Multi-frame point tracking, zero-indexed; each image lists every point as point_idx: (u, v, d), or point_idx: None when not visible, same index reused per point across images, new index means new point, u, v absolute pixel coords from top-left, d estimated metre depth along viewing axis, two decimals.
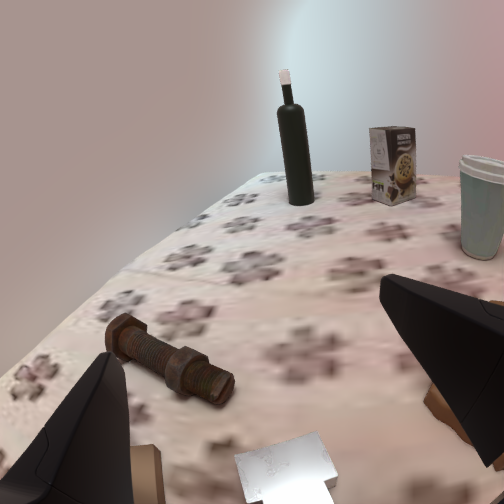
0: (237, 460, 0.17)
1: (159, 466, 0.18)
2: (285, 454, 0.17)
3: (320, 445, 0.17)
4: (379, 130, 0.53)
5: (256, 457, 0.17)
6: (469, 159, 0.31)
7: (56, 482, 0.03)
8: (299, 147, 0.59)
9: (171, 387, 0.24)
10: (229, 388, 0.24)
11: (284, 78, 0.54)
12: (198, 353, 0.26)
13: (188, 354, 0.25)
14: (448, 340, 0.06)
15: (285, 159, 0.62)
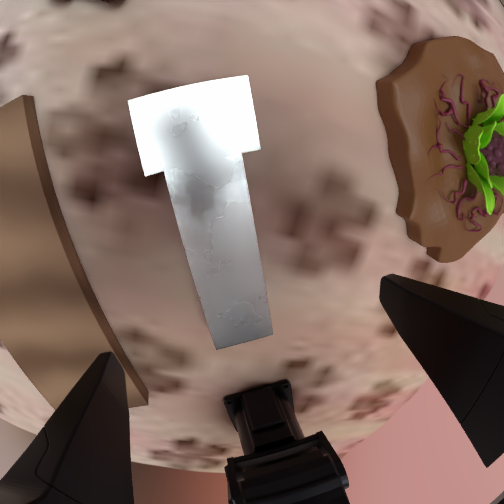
0: (132, 109, 0.12)
1: (34, 121, 0.13)
2: (198, 103, 0.13)
3: (247, 98, 0.14)
4: None
5: (158, 104, 0.13)
6: None
7: (56, 482, 0.03)
8: None
9: None
10: None
11: None
12: None
13: None
14: (448, 340, 0.06)
15: None
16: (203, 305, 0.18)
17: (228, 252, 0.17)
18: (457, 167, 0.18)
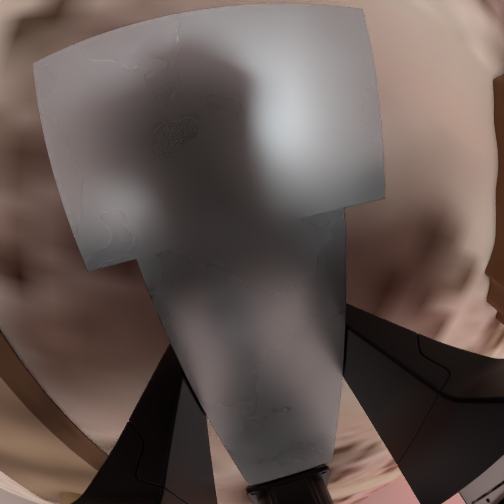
0: (41, 85, 0.03)
1: None
2: (235, 60, 0.04)
3: (365, 65, 0.04)
4: None
5: (112, 64, 0.04)
6: None
7: (163, 482, 0.04)
8: None
9: None
10: None
11: None
12: None
13: None
14: (376, 378, 0.06)
15: None
16: (234, 457, 0.09)
17: (287, 397, 0.08)
18: None
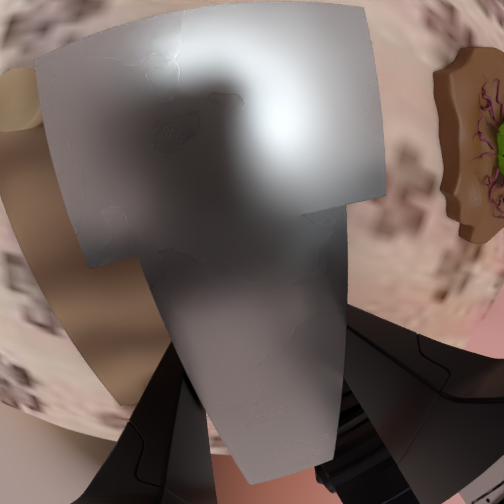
0: (43, 82, 0.03)
1: None
2: (237, 57, 0.04)
3: (365, 62, 0.04)
4: None
5: (114, 60, 0.04)
6: None
7: (162, 482, 0.04)
8: None
9: None
10: None
11: None
12: None
13: None
14: (376, 378, 0.06)
15: None
16: (235, 456, 0.09)
17: (288, 396, 0.08)
18: (492, 155, 0.19)
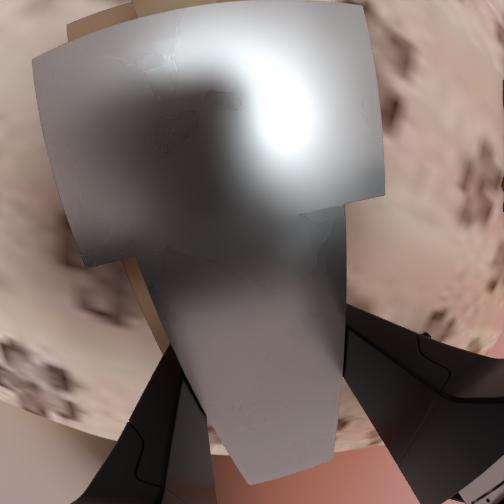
0: (40, 81, 0.03)
1: None
2: (234, 55, 0.04)
3: (365, 61, 0.04)
4: None
5: (112, 59, 0.04)
6: None
7: (163, 482, 0.04)
8: None
9: None
10: None
11: None
12: None
13: None
14: (376, 378, 0.06)
15: None
16: (234, 456, 0.09)
17: (287, 396, 0.08)
18: None
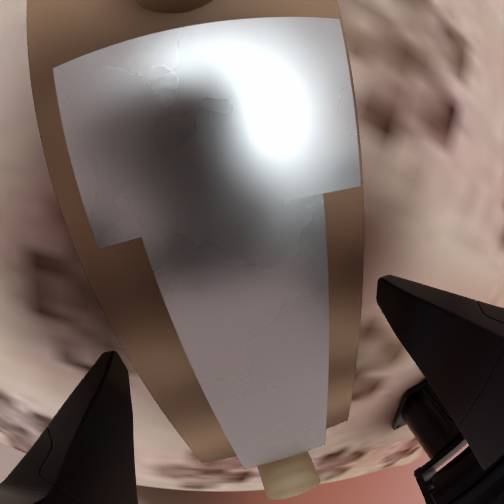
0: (61, 87, 0.04)
1: None
2: (226, 68, 0.05)
3: (340, 68, 0.05)
4: None
5: (123, 71, 0.04)
6: None
7: (60, 482, 0.03)
8: None
9: None
10: None
11: None
12: None
13: None
14: (445, 342, 0.06)
15: None
16: (229, 435, 0.10)
17: (277, 373, 0.09)
18: None
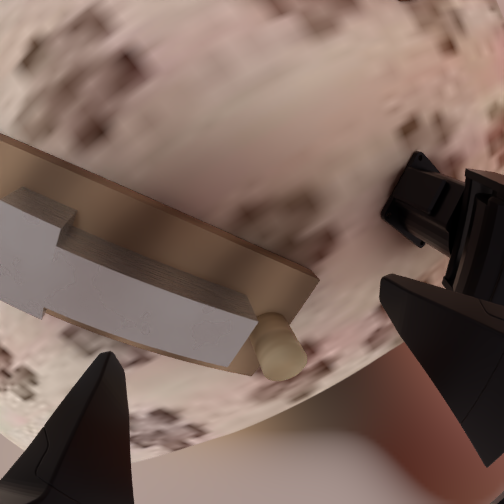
0: None
1: (8, 138, 0.12)
2: (5, 252, 0.12)
3: (16, 212, 0.11)
4: None
5: None
6: None
7: (56, 482, 0.03)
8: None
9: None
10: None
11: None
12: None
13: None
14: (448, 340, 0.06)
15: None
16: (173, 352, 0.17)
17: (136, 308, 0.15)
18: None
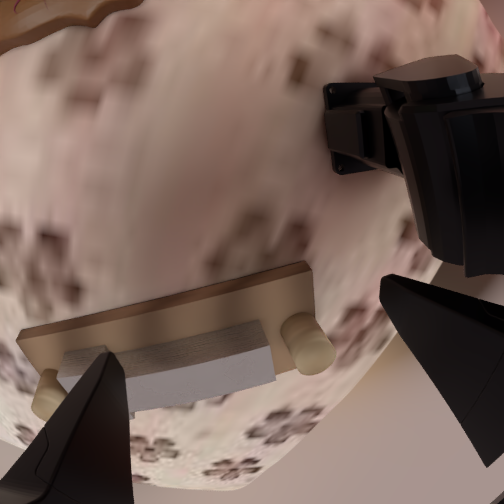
0: None
1: (32, 330, 0.19)
2: None
3: (70, 378, 0.17)
4: None
5: None
6: None
7: (56, 482, 0.03)
8: None
9: None
10: None
11: None
12: None
13: None
14: (448, 340, 0.06)
15: None
16: (227, 392, 0.21)
17: (180, 384, 0.19)
18: None
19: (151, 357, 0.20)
